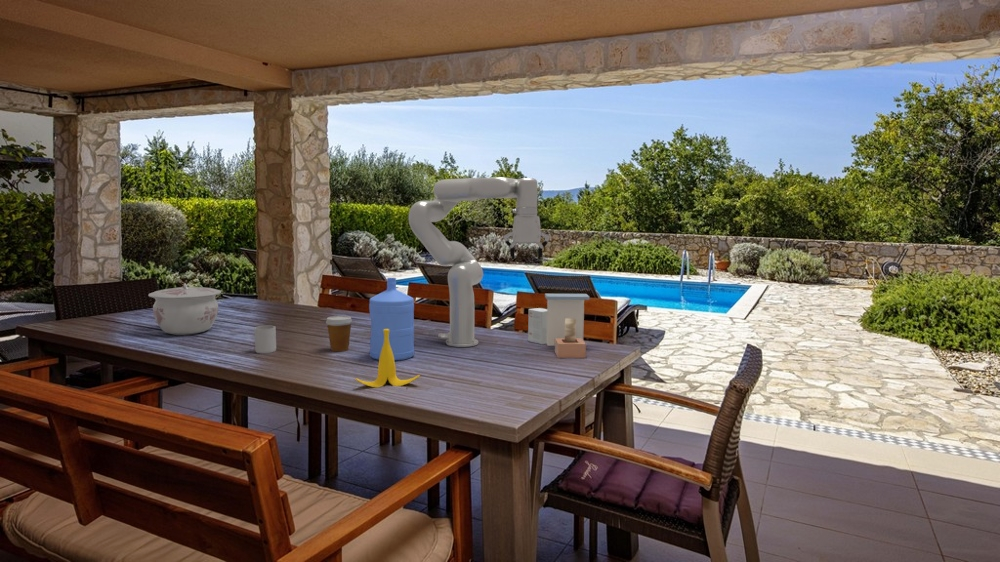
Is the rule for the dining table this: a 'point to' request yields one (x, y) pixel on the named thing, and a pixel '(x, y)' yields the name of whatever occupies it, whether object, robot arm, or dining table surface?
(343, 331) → the disposable coffee cup
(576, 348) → the socket
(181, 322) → the chamber pot
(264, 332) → the cup
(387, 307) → the water jug
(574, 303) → the lidded rectangular box
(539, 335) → the small box
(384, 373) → the banana peel
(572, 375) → the dining table surface
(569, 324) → the peg
